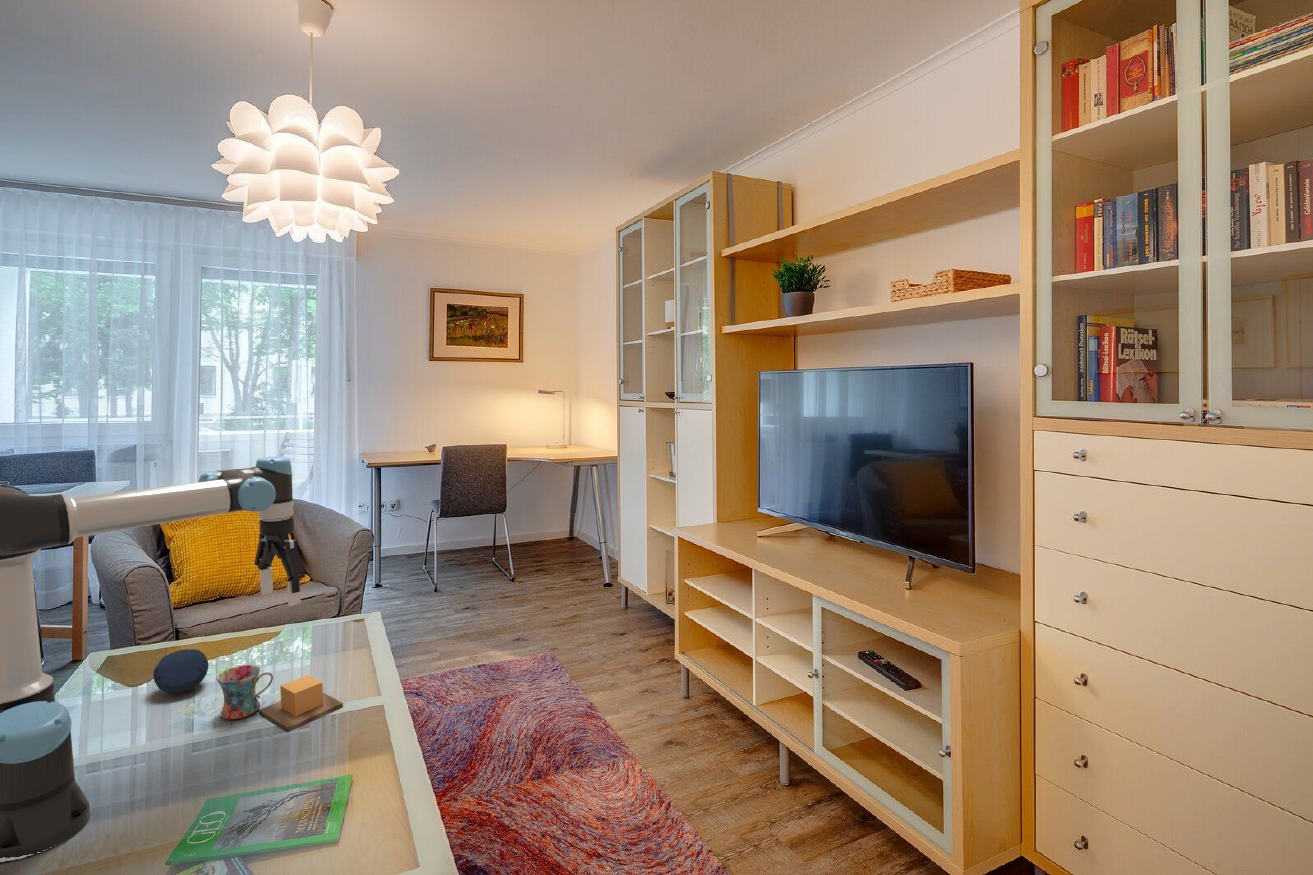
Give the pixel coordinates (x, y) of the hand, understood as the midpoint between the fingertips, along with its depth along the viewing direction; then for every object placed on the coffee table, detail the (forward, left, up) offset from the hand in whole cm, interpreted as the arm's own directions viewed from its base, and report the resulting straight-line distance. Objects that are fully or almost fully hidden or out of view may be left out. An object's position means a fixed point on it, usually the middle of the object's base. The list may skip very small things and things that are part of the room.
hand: (280, 598), depth 164 cm
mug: (-7, +5, -29) cm, 30 cm away
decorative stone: (-12, +30, -29) cm, 43 cm away
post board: (+1, -6, -29) cm, 29 cm away
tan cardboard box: (+1, -6, -28) cm, 28 cm away
